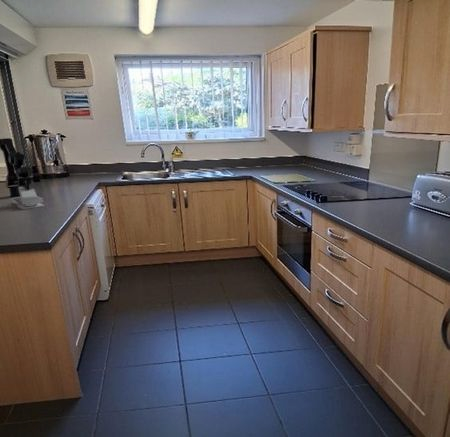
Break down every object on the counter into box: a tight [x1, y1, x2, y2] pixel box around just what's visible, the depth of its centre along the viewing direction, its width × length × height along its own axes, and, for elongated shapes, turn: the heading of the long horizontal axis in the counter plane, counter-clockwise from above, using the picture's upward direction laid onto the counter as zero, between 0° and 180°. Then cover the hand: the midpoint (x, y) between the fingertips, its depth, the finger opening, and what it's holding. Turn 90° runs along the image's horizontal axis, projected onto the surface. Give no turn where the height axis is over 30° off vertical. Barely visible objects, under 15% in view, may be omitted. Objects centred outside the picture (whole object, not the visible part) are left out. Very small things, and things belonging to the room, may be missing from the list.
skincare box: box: [19, 188, 38, 206], centre depth 218 cm, size 8×6×15 cm
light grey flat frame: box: [12, 195, 44, 207], centre depth 230 cm, size 22×14×2 cm, turn 43°
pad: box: [17, 203, 46, 210], centre depth 217 cm, size 12×12×1 cm
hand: (28, 189), depth 221 cm, fingers closed, pressing on skincare box
